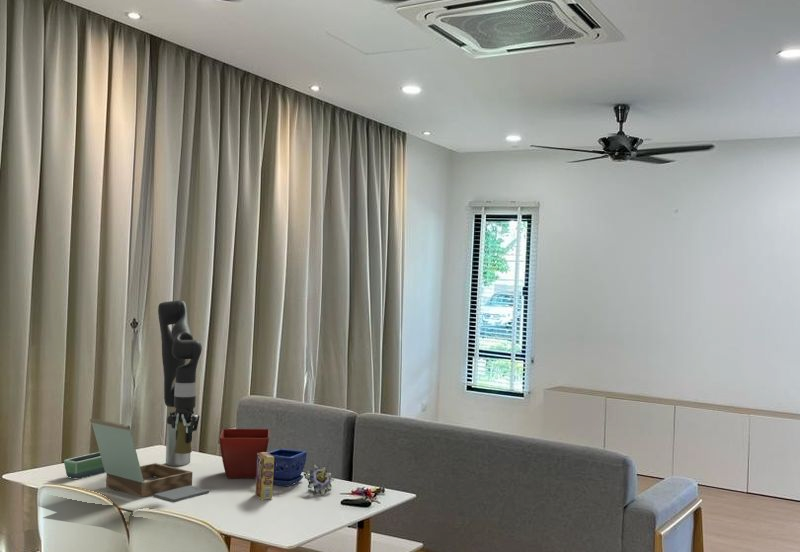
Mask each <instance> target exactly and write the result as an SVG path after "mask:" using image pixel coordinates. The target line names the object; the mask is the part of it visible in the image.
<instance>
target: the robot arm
mask: <svg viewBox="0 0 800 552" xmlns="http://www.w3.org/2000/svg"><path fill="white" fill-rule="evenodd" d="M157 314H158V322H159V328H160V329H159V330H160V336H161V359H162V368H163V399H164V404H165V406H166V407H169V408H174V409H175V411H174V410H173V411H170V412H169V415H168V416H167V418H166V439H165V440H166V445H165V448H166V449H165V466H170V467H174V466H175V467H177V466H186V465H188V464H189V463H191V453H187V454H177V453H175V447H176V441H177V435H178V430H177V424H178V423H179V422H183V424H184V426H185V427H186V438H185V442H186V443H190V442H191V443H192V440H193V432H197V430H198V426H199V421H200V415H199V414H195V412H194V409H195V408H196V403H197V402H196V401H197V399H196V398H197V385H196V382H197V381H196V378H197V367H198V363H199V360H200V356H201V354H202V350H203V349H202V343H201V342H200V341H199V340H197V339H194V337H193V334H192V331H191V328H190V317H189V311H188V307H187V303H186V302H185V301H184V300H179V299H178V300H172V301H171V300H170V301H163V302H160V303H159V304H158V307H157ZM170 325H173V327H172V329H170V327H169V326H170ZM187 360H189V362H188V363H186V361H187ZM174 381H175V384H173V383H174ZM189 422H190V423H189ZM187 423H189V424H187ZM188 426H190V428H188Z"/></svg>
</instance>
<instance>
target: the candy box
mask: <svg viewBox="0 0 800 552" xmlns="http://www.w3.org/2000/svg"><path fill="white" fill-rule="evenodd" d="M273 471H274V457H273V456H272V455H271V454H269V453H268V451H267V452H261V453H257V469H256V478H255V495H256V496H257V497H258V498H259V499H260V500H262V499H267V500H272V499H273V488H274V485H273ZM271 498H272V499H271ZM262 501H263V500H262Z"/></svg>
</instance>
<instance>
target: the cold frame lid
mask: <svg viewBox="0 0 800 552" xmlns="http://www.w3.org/2000/svg"><path fill="white" fill-rule="evenodd" d="M89 420H90V421H89V422H90V423H91V424H92V429H93V432H94V436H95V437H94V438H95V439H96V444H97V446H98V452H100V455H101V459H102V463H103V467H104V470H105V472H104V473H105V474H111V475H115V476H119V477H122V478H126V479H130V480H134V481H138V482H142V483H143V482H145V481H144V480H145V479H143V476H142V472H141V468H140V466H141V465H140V461H139V457H138V453H137V450H136V446H135V442H134V438H133V435H132V434H133V433H132V429H131V426H130V425H128V424H123V423H117V422H114V421H113V422H112V421H108V420H104V419H103V420H102V419H98V418H90V419H89Z"/></svg>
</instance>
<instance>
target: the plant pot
mask: <svg viewBox="0 0 800 552" xmlns="http://www.w3.org/2000/svg"><path fill="white" fill-rule="evenodd" d="M269 441H270V429H268V428H222V431H221V434H220V436H219V446H220V453H221V458H222V459H221V460H222V465H223V469H224V472H225V473H224V474H225V476H226V478H227V479H256V469H257V453H261V452H267V453H268V447H269Z"/></svg>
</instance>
